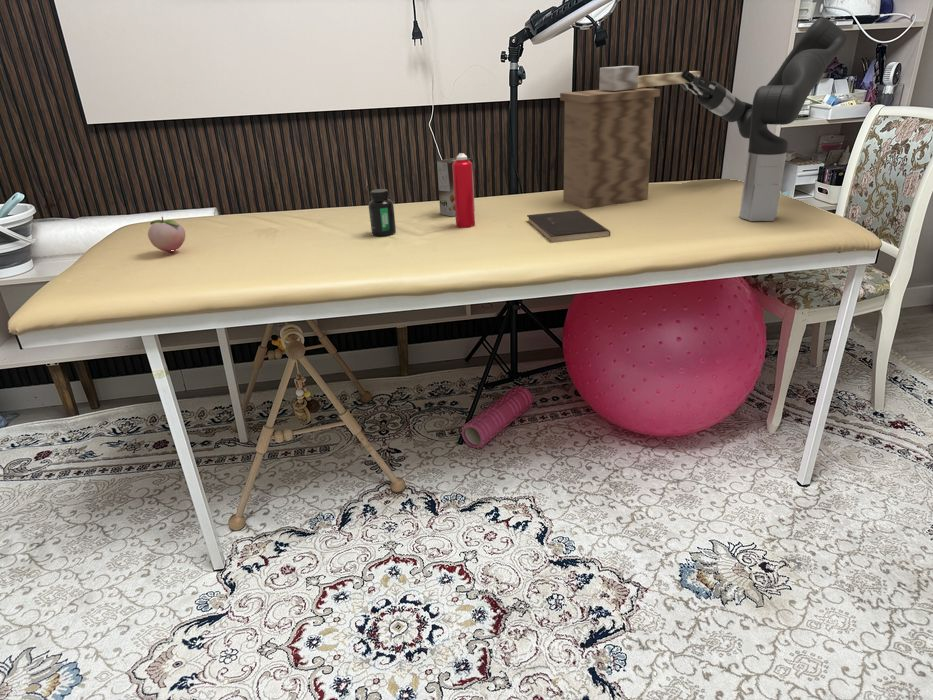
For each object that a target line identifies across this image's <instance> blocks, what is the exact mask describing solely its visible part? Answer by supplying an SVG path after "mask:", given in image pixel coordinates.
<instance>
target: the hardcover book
mask: <svg viewBox="0 0 933 700" xmlns="http://www.w3.org/2000/svg"><path fill="white" fill-rule="evenodd" d="M526 217H527V218H528V222H529V223H530V224H531V225H532V226H534V228H535V229H536V230H538V231H539V232H540V233H541V234H542V235H544V237H546V238H547V239H548V240H549V241H550V242H551V243H557V242H558V243H559V242H565V241H566V242H567V241H576V240H584V239H585V240H586V239H594V238H595V239H596V238H603V237H611V231H610V230H609V229H608V228H607V227H605V226H603V225H602V224H600V223H599V222H597V220H594V219H593V218H591V217H589V216H588V215H586V214H585V213H583V212H582V211H581V210H579V209H575V210H574V209H573V210H568V211H567V210H565V211H556V212H554V211H553V212H545V213H535V214H534V213H532V214H527V215H526Z"/></svg>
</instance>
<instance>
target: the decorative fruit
mask: <svg viewBox="0 0 933 700" xmlns="http://www.w3.org/2000/svg"><path fill="white" fill-rule="evenodd" d="M147 231H148V232H147V237H148V239H149V242H150V243H151V244H152V246H153V247H154V248H156V249H158V250H160V251H163V252H168V253H170V254H172V253H174V252H176V251H177V250H179V249H180V248H181V247H182V246H183V244H184V242H185V241H186V231H185V229H184V227H183V226H182V225H181V223H179V222H176V221H175V220H173V219H167V220H164V217H163V216H161V219H155V220H152V221H150V227H149V228H148V230H147ZM176 249H177V250H176ZM171 250H174V251H171Z"/></svg>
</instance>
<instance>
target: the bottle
mask: <svg viewBox="0 0 933 700" xmlns="http://www.w3.org/2000/svg"><path fill="white" fill-rule="evenodd" d="M455 158H457V160H456V161H455V162H454V163H453V165H452V168H453V184H454V200H455V216H454V217H455V226H456V227H457V228H462V229H463V228H467V229H468V228H473V227H475V225H476V219H475V218H476V215H475V211H474V206H475V193H474V194H473V182H474V172H473V173H472V163H471V162H470V161H469V160H467V158H468V155H466V154H465V153H464V152H459V153H458V155H456V156H455Z"/></svg>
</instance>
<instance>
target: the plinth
mask: <svg viewBox="0 0 933 700" xmlns="http://www.w3.org/2000/svg"><path fill="white" fill-rule="evenodd" d="M660 96H661V89H660V88H651V87H650V88H649V87H640V88H638V89H628V90H617V91H609V90H599V89H593V90H592V89H591V90H590V89H589V90H583V91H580V90H579V91H570V92H560V93H559V97H560V98H559V101H564V116H563V117H564V121H563V122H564V124H563V125H564V126H563V127H564V128H563V129H564V130H563V132H564V133H563V141H564V142H563V194H562V195H563V197H562V198H563V200H562V201H565V202H567V203H570V204H572V205H575V206H576V207H580V208H582V209H585V210H586V209H587V210H588V209H593V208H600V207H606V206H607V207H608V206H614V205H619V204H620V205H622V204H627V203H634V202H639V201H640V202H641V201H647V200H648V196H649V183H650V169H651V168H650V167H651V157H652V156H651V155H652V154H651V153H652V143H653V142H652V141H653V140H652V139H653V130H654V129H653V128H654V113H655V112H654V111H655V99H656V98H657V97H658V98H659V97H660Z"/></svg>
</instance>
